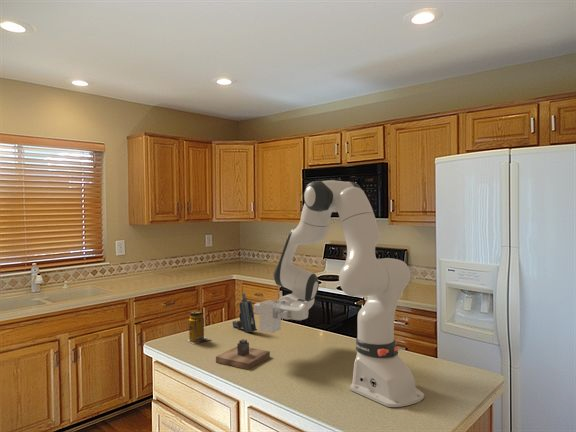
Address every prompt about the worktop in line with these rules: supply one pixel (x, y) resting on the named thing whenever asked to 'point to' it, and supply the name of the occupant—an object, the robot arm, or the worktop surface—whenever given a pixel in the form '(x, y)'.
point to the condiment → (196, 328)
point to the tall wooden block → (270, 316)
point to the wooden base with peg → (243, 356)
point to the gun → (246, 316)
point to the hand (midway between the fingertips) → (268, 315)
